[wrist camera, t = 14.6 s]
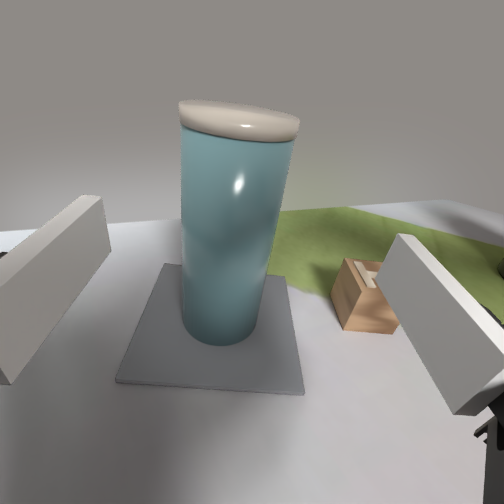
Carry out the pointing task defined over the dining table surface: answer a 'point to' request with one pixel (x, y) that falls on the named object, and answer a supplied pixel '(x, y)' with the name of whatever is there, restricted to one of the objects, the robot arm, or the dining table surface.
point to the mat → (213, 357)
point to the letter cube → (362, 299)
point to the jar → (229, 212)
